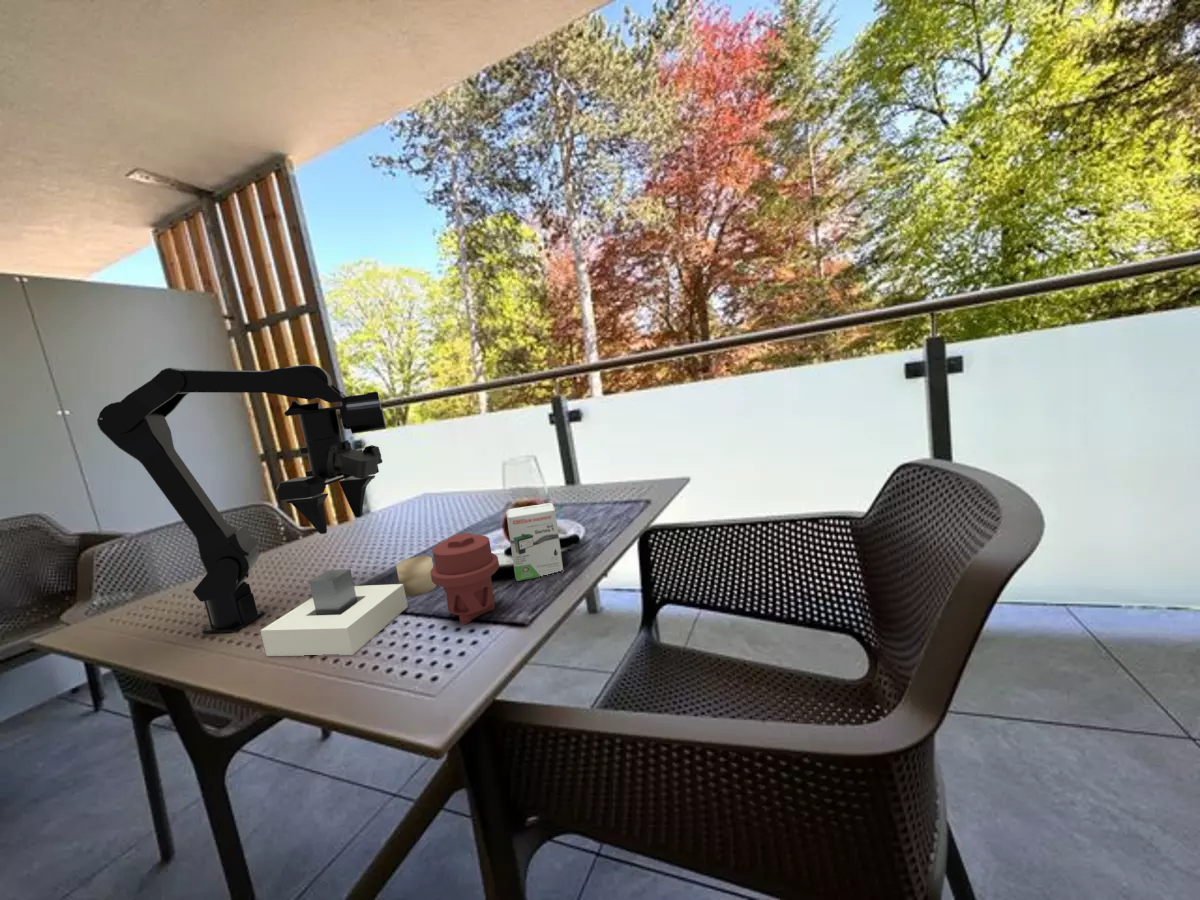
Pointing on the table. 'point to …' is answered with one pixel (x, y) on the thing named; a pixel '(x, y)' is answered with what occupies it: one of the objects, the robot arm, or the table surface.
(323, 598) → the square bar
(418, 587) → the beige rounded lump
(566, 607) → the table surface
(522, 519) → the ink box
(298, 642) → the socket block
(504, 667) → the table surface
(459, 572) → the mechanical component
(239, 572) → the robot arm
